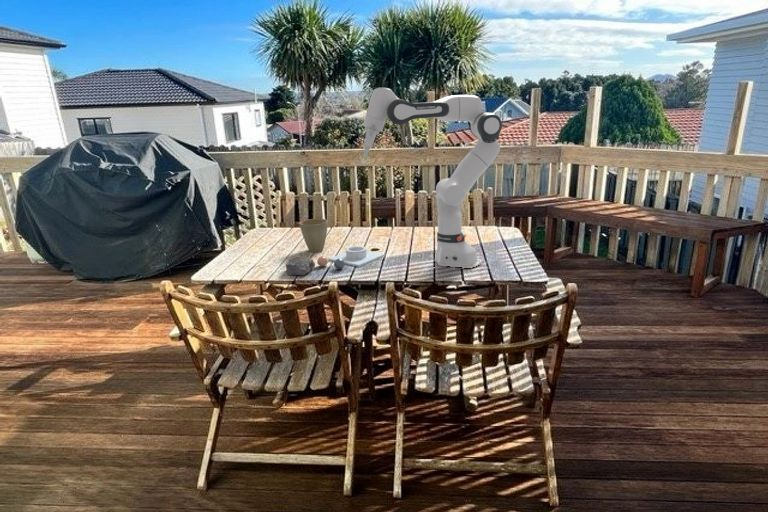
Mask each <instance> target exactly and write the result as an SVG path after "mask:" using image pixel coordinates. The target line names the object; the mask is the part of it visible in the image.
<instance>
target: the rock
mask: <svg viewBox="0 0 768 512" xmlns="http://www.w3.org/2000/svg"><path fill="white" fill-rule="evenodd" d="M314 268H316V263H315V261H314V260H313V258H311V257H303V256H301V255H300V256H299V255H295V256H293V257H290V259H288V261H287V262H286V264H285V270H286V271H285V273H286V274H287V275H289V276H294V275H295V276H305V275H306V274H308V273H310V272H311V271H312V270H313V269H314Z"/></svg>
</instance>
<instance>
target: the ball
mask: <svg viewBox="0 0 768 512" xmlns="http://www.w3.org/2000/svg"><path fill="white" fill-rule="evenodd" d="M328 259H329V258H327V256H324V255H321V256H318V258H317V262H316V263H317V265H318V266H319V267H326V266H327V264H328V262H329V260H328Z"/></svg>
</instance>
